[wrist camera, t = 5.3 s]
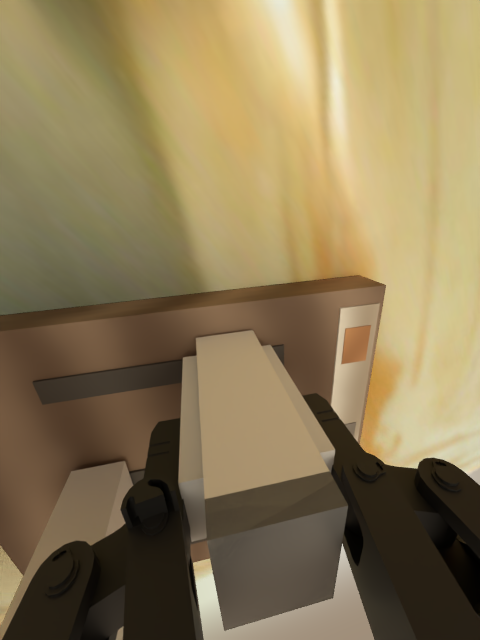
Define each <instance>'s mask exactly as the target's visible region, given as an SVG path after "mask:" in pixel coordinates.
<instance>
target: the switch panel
mask: <svg viewBox="0 0 480 640" xmlns="http://www.w3.org/2000/svg"><path fill="white" fill-rule="evenodd" d="M385 288H386V285H384V284H381V283H379V282H376V281H373V280H370V279H368V278H365V277H362V276H359V275H358V276H349V277H341V278H332V279H323V280H314V281H305V282H296V283H287V284H278V285H269V286H260V287H251V288H242V289H233V290H224V291H215V292H206V293H198V294H189V295H180V296H171V297H162V298H153V299H144V300H135V301H126V302H117V303H108V304H99V305H90V306H81V307H72V308H63V309H54V310H46V311H37V312H28V313H19V314H10V315H1V316H0V545H1V546H2V548H3V549H4V550H5V552H6V553H7V554H8V556H9V557H10V558H11V560H12V561H13V562H14V564H15V565H16V566H17V568H18V569H19V570H20V572H21V573H22V574H23V576H24V574H25V571H26V569H27V567H28V565H29V563H30V560H31V558H32V556H33V554H34V552H35V549H36V547H37V545H38V543H39V541H40V539H41V536H42V534H43V532H44V530H45V528H46V525H47V523H48V521H49V519H50V517H51V514H52V512H53V510H54V508H55V506H56V503H57V501H58V499H59V497H60V495H61V493H62V490H63V488H64V486H65V484H66V482H67V479H68V477H69V475H70V473H71V471H76V470H81V469H86V468H91V467H96V466H101V465H106V464H111V463H116V462H121V461H125V463H126V466H127V468H128V471H129V474H130V477H131V480H132V483H133V485H134V484H136V483H137V482H138V481H139V480H141V479H143V478H144V472H145V466H146V460H147V454H148V448H149V442H150V437H151V432H152V431H153V429H154V428H155V426H156V424H157V423H158V422H160V421H165V420H171V419H176V418H181V396H182V368H183V357H189V356H196V355H197V351H196V338H198V337H205V336H212V335H220V334H227V333H234V332H242V331H249V330H253V331H254V333H255V335H256V337H257V339H258V341H259V342H260V344H261V346H266V345H271V347H272V348H273V350H274V351H275V353H276V355H277V356H278V358H279V359H280V361H281V363H282V364H283V366H284V368H285V369H286V371H287V372H288V374H289V376H290V377H291V379H292V380H293V382H294V384H295V385H296V387H297V389H298V390H299V392H300V393H301V395H307V394H313V393H317V394H319V395H320V396H321V397H323V398H324V399H326V400H327V401H328V403H329V404H330V405H331V407H332V408H333V409H334V411H335V412H336V413H337V415H338V416H339V419H341V420H342V422H343V423H344V424H345V426H346V427H347V428H348V430H349V431H350V432H351V434H352V435H353V437H354V438H355V439H356V441H357V442H358V443H359V444H360V438H361V432H362V426H363V420H364V414H365V408H366V402H367V396H368V390H369V384H370V378H371V372H372V366H373V360H374V354H375V348H376V342H377V336H378V330H379V324H380V318H381V312H382V306H383V300H384V294H385ZM190 540H191V536H190ZM191 558H192V562H197V561H201V560H205V559H209V558H210V554H209V549H208V544H207V538H206V539H201V540H197V541H193V542H192V541H191Z"/></svg>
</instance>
